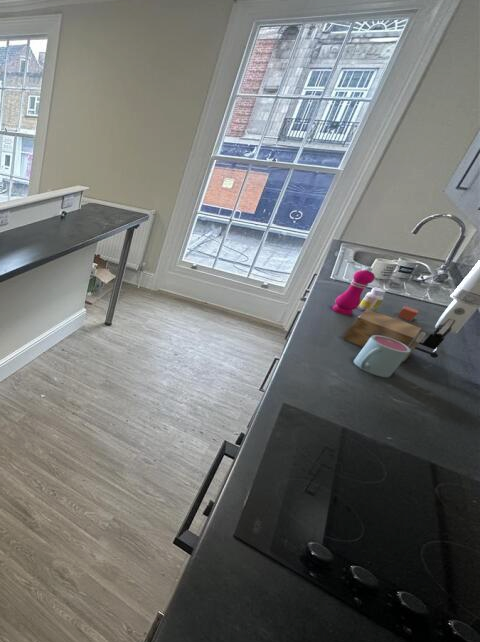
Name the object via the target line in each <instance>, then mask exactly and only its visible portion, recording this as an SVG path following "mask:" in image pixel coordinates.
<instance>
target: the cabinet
mask: <svg viewBox="0 0 480 642" xmlns="http://www.w3.org/2000/svg"><path fill="white" fill-rule="evenodd" d="M421 330H422V327H420V326H418V325H414V324H412V323H408V322H405V321H402V320H401V319H400V320H399V319H397V318H394V317H392V316H388V315H386V314H383V313H381V312H380V313H379V312H376V311H375V312H374V311H371V310H369V309H367V310H366V311H363V312H362V313H361V314H360V315H359V316H357V318H356V319H355V321H354V322H353V324H352V326H351V327H350V328H349V329H348V331H347V333H345V336H344V337H343V340H344V341H347V342H350V343H352V344H355V345H357V346H359V347H361V348H363V347H364V346H365V345H366V343H367V342H368V340H369V339H370V338H371V336H373V335H380V336H385V337H388V338H391V339H394V340H397V341H399V342H401V343H403V344H405V345H406V346H408V347H409V346H410V345H411V344H412V342H413V341H414V340H415V339H416V337H417V336H418V335H419V333H420V332H421Z"/></svg>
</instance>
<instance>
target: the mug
mask: <svg viewBox="0 0 480 642" xmlns="http://www.w3.org/2000/svg"><path fill="white" fill-rule="evenodd" d="M410 351H411V350H410V348H409V345H408V346H406V345H405V344H403V343H401V342H399V341H397V340H394V339H391V338H388V337H385V336H380V335H373V336H371V338H370V339H369V340H368V342H367V343H366V345H365V346H364V347H362V349H361V350H360V351H359V353H358V354H357V356H356V357H355V358H354V359H353V364H355V365H356V367H358V368H359V369H361V370H362V371H364V372H367V373H368V374H372V375H374V376H376V377H377V376H378V377H381V378H389V377H391V376H393V373H394V372H395V371H396V370H397V368H398V367H399V366H400V365H401V364H402V362H403V360H404V359H405V357H406V356H407V355H408V354H409V352H410Z"/></svg>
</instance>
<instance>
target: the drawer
mask: <svg viewBox="0 0 480 642" xmlns="http://www.w3.org/2000/svg"><path fill="white" fill-rule="evenodd" d="M426 334H427V333H426V332H424V331H420V332H419V333H418V334H417V335H416V337H415V338H414V339H413V340H412V342H411V343H410V344H409V345H408V347H409V348H410V350H411V351H410V352H409V354H408V355H407V356H406V357H405V359H404V360H403V361H402V362H403V363H404V362H405V361H406V360H407V359H408V358H409V356H410V355H412V353H413V351H414V350H418V351H420V352H423V353H424V354H425V353H426V354H428V355H430V357H431V358H434V359H435V358H438V357H439V355H440V353H441V352H442V351H443V349H442V348H441V347H440V346H438V347H437V348H436V349H432V348H430V347H427V346H424V345H423V342H421V341H422V340H423V339H424V337H425V336H426ZM419 345H421V346H424V347H426V348H429V349H432V351H429V350H426V349H423V348H421V347H418V346H419Z"/></svg>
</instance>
